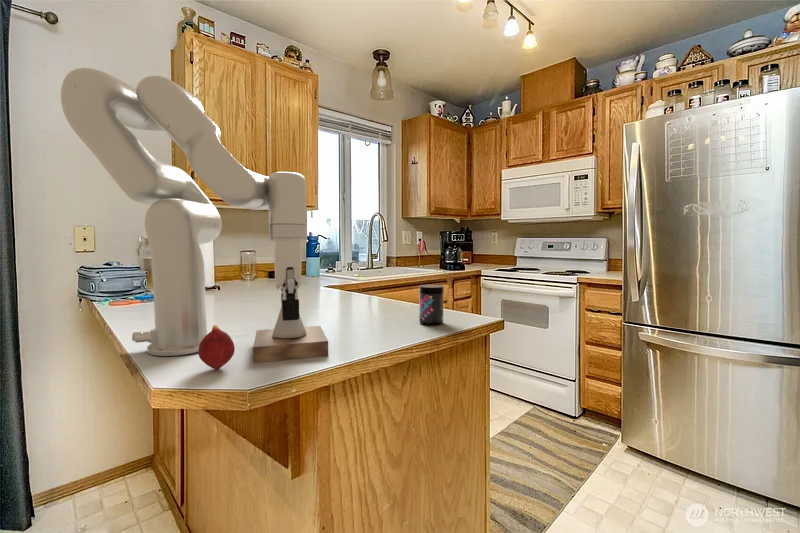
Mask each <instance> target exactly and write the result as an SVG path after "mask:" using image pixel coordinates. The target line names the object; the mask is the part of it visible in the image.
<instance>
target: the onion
mask: <svg viewBox="0 0 800 533" xmlns="http://www.w3.org/2000/svg"><path fill="white" fill-rule="evenodd" d="M235 349H236V348H235V343H234V340H233V339H232V338H231V336H230V334H228V333H226V331H223V330H222V329H220V328H219V327H218V325H217V324H214V325H213V326H212V327H211V330H210V332H207V335H206V336H205V337H204V338H203V339H202V341H201V343H200V345H199V351H198V352H197V354H198V356H199V359H200V360H201V362H203V363H204V364H205V365H206V366H208V367H210V368H211V369H213V370H215V371H217V370H219V369H221V368H222V367H223V366H226V364H227V363H228V362H230V360H231V359H232V358H233V356H234V354H235Z"/></svg>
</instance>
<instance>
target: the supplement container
mask: <svg viewBox="0 0 800 533" xmlns="http://www.w3.org/2000/svg"><path fill="white" fill-rule="evenodd" d="M444 288H445V287H444V285H441V284H420V285H418V290H419V291H418V292H419V294H418V295H419V298H418V299H419V301H418V304H419V305H418V306H419V308H418V311H419V312H418V313H419V318H418V319H419V320H418V321H419V324H421V325H423V326H428V327H429V326H430V327H432V326H433V327H434V326H435V327H437V326H440V325H442V324H443V323H444V293H445V291H444Z"/></svg>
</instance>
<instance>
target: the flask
mask: <svg viewBox="0 0 800 533" xmlns="http://www.w3.org/2000/svg"><path fill="white" fill-rule="evenodd" d="M280 291H281V293H282V295H283V288H282V287H280ZM282 300H283V298H282ZM304 327H305V326H304V323H303V320H302V317H301V315H300V313H299V319H298V320H287V321H284V320H283V318H282V305H281V306H280V309H279V313H278V316H277V319H276V323H275V325H274V328H273V329H274V331H273V334H272V335H273V337H274V338H297V337H301V336H303V335H306V334H307V333H306V331H305V328H304Z"/></svg>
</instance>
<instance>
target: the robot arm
mask: <svg viewBox="0 0 800 533" xmlns="http://www.w3.org/2000/svg"><path fill="white" fill-rule="evenodd" d="M60 103H61V107H62V111H63V115H64V117H65V118H66V119H65V120H66V121H67V123H68V124H69V126H70V128H72V130H73V131H74V133H75V134H76V135H77V137H78V138H79V139H80V140H81V141H82V143H84V145H85V146H86V147H87V148H88V149H89V151H91V153H92V154H93V155H94V157H96V159H97V160H98V162H99V163H100V164H101V166H102V167H103V168H104V170H106V172H107V173H108V174H109V175H110V177H111V178H112V179H113V180H114V182H115V183H116V184H117V186H119V188H120V189H121V191H123V192H124V194H125V195H126V196H127V197H128V198H129V199H131V200H132V201H135V202H137V203H141V204H145V205H150V206H149V207H148V209H147V211H146V212H145V216H144V229H145V234H146V238H147V242H148V246H149V250H150V256H151V257H150V258H151V272H152V273H151V274H152V285H153V286H152V287H153V288H152V289H153V309H154V313H153V314H154V328H153V329H150V330H149V331H133V332H132V334H131V340H132V342H135V343H137V344H138V343H145V342H148V343H149V345H148V346H146V352H147V353H148V355H151V356H156V357H157V356H158V357H159V356H160V357H174V356H184V355H190V354H195V353H198V351H199V345H200V343H201V341H202V339H203V338H204V337H205V336H206V335H207V334H208V332H207V331H208V330H207V326H208V325H207V304H206V281H205V280H206V276H205V275H206V274H205V261H204V257H203V256H204V255H203V252H202V251H201V250H202V249H201V247H200V245H204V244H208V243H211V242H212V241H213V242H214V241H215V240H216V239H217V238H218V237H219V235H220V234H221V232H222V229H223V223H222V222H223V221H222V217H221V215H220V214H219V211H218V209H217V208H216V207H215V206H214V204H213V203H212V202H211V200H210V199H209V198H208V197H207V195H206V194H205V193H204V192H203V191H202V190H201V189H200V187H199V185H198V184H196V182H195V181H194V179H192V177H191V176H190V175H188V173H187V172H185V171H184V170H182V168H180V167H177V166H174V165H171V164H169V163H165V162H163V161H161V160H158V159H157V158H155V157H154V156H152V154H151V153H150V152H149V151H148V150H147V149H146V147H145V146H144V145H143V144H142V143H141V141H140V140H139V138H137V136H136V135H135V134H134V133H133V132H132V131H131V130H129V129H128V128H131V129H135V130H142V131H156V132H157V131H160V132H164V133H165V134H166V135H167V136H168V137H169V138H170V139H171V140H172V141H173V143H175V144H176V145H177V146H178V147H179V148H180V150H181V151H182V152H183V153H185V156H186V157H185V158H186V160H187V162H188V163H189V165H190V167H191V169H192V171H193V172H194V173H195V174H196V176H197V177H199V179H200V180H201V181H202V182H203V183H204V184H205V185H206V187H208V188H209V189H210V190H211V191H212V192H213V193H214V194H215V195H216V196H217V197H218V198H219V199H221V200H222V201H223V202H224V203H225V204H227V205H230V206H232V207H237V208H243V209H247V210H252V211H263V210H268V229H269V230H268V232H269V233H268V235H269V237H268V239H269V241H274V256H273V257H274V283H275V284H274V286H275V287H274V288H275V289H276V290H278V291H279V290H280V288H283V295H282V292H281V293H280V295H281V296H280V298H281V299H280V300H281V301H280V302H281V305H282V318H283V320H284V321H287V320H298V319H299V314H300V299H299V295H298V294H299V293H298V290H299V289H301V285H302V284H301V282H302V242H304V241H305V242H306V241H308V223H307V222H308V221H307V219H308V217H307V215H308V214H307V213H308V212H307V181H306V178H305V176H304V175H302V174H301V173H298V172H292V171H276V172H272V173H271V174H269V176H268V175H262V174H259V173H256V172H254V171H252V170H250V169H247V168H245V166H244V165H242V164H241V163H240V162H239V161H238V159H237V158H235V157H234V156H233V155H232V153H231V152H230V151H229V150H228V149H226V147H225V146H224V145H223V144H222V143H221V141H220V138H221V130H220V128H219V127H218V125H217V124H216V123H215V122H214V121H213V120H212V118H210V117H209V116H208V115H207V114H206V113H205V110H204V107H203V105H202V103H201V101H199V99H198V98H197V96H196V95H195V94H193V93H191V92H190V91H188V90H187V89H185V88H184V87H183V86H180V85H179V84H178V83H176V82H175V81H173V80H171V79H169V78H168V77H164V76H161V75H149V76H145V77H143V78H142V79H141V80H139V82H138V83H137V86H136V87H134V86H132V85H130V84H128V83H126V82H125V81H123V80H121V79H119V78H117V77H115V76H114V75H111V74H109V73H107V72H104V71H103V70H99V69H96V68H90V67H80V68H79V67H77V68H75V69H73V70H70V71H69V72H68V74H66V75H65V77H64V79H63V81H62V83H61V88H60ZM127 127H128V128H127ZM282 298H283V300H282Z"/></svg>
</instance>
